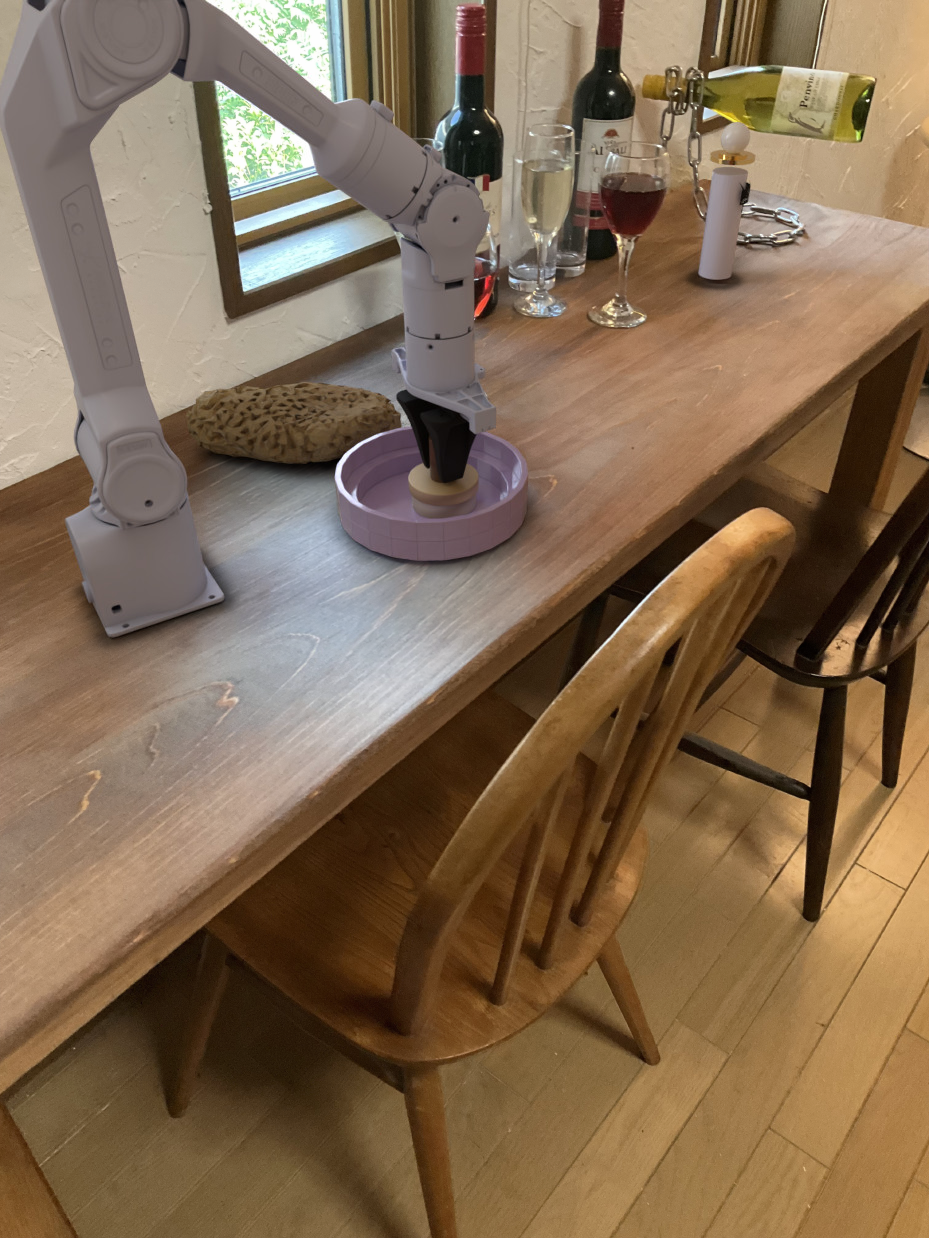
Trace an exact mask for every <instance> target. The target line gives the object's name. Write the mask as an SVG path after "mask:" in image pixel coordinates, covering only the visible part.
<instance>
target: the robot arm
mask: <svg viewBox="0 0 929 1238" xmlns="http://www.w3.org/2000/svg"><path fill="white" fill-rule="evenodd" d="M19 17H20V18H19V21H18V24H17V28H16V31H15V34H14V38H13V42H12V45H11V49H10V52H9V55H8V58H7V62H6V63H5V64H6V65H5V68H4V71H3V75H2V78H1V81H0V131H1V134H2V139H3V141H4V145H5V149H6V152H7V156H8V159H9V162H10V166H11V169H12V173H13V176H14V179H15V183H16V186H17V187H16V188H17V190H18V193H19V197H20V200H21V204H22V208H23V210H24V211H23V212H24V215H25V218H26V223H28V224H27V225H28V229H29V232H30V235H31V239H32V242H33V245H34V249H35V252H36V256H37V259H38V263H39V266H40V267H39V268H40V270H41V273H42V277H43V280H44V283H45V288H46V290H47V294H48V298H49V301H50V305H51V309H52V312H53V315H54V319H55V322H56V325H57V329H58V333H59V336H60V340H61V343H62V347H63V349H64V350H63V351H64V353H65V357H66V359H67V363H68V367H69V371H70V373H71V378H72V380H73V396H74V400H75V402H76V409H77V418H76V421H75V424H74V425H75V426H74V430H73V442H74V446H75V449H76V452H77V454H78V455H79V457H80V458H81V460H82V461H83V463H84V464H85V467H86V469H87V471H88V473H89V475H90V477H91V479H92V481H93V487H92V490H91V495H90V496H89V500H88V501H89V505H88V506H86V507H85V508H84V509H82V510H80V511H78V512H76V513H74V514H71V515H70V516H67V517H65V518H64V523H65V527H66V531H67V534H68V535H69V536H68V537H69V539H70V542H71V546H72V549H73V553H74V555H75V558H76V561H77V564H78V567H79V570H80V573H81V576H82V579H83V580H82V581H81V586H82V589H83V592H84V594H85V597H86V599H87V601H88V603H89V604H92V605H93V607H94V609H95V612H96V613H97V616H98V618H99V620H100V623H101V624H102V626H103V628H104V630H105V633H106V634H107V636H108V637H109V638H116V637H120V636H123V635H126V634H129V633H131V632H134V631H138V630H141V629H144V628H146V627H149V626H153V625H156V624H159V623H162V622H165V621H167V620H170V619H173V618H177V617H180V616H182V615H186V614H188V613H192V612H194V611H197V610H200V609H203V608H207V607H209V606H212V605H215V604H219V603H221V602H223V601H224V600H225V593H224V592H223V591H222V589H221V587H220V585H219V584H218V583H217V581H216V580H215V578H214V577H213V575H212V574H211V572H210V571H209V569H208V567H207V566H206V565H205V563H204V560H203V559H204V558H203V555H202V551H201V546H200V541H199V537H198V533H197V529H196V524H195V518H194V515H193V510H192V506H191V502H190V497H189V493H188V475H187V471H186V468H185V466H184V464H183V462H182V461H181V460H180V458H179V457H178V456H177V455H176V454H175V453H174V451H173V450H172V449H171V448H170V446H169V444H168V443H167V441H166V439H165V436H164V431H163V427H162V424H161V421H160V419H159V416H158V413H157V411H156V408H155V406H154V403H153V401H152V398H151V395H150V393H149V389H148V387H147V383H146V378H145V374H144V370H143V365H142V361H141V358H140V354H139V349H138V345H137V340H136V336H135V332H134V328H133V324H132V319H131V315H130V311H129V307H128V304H127V299H126V296H125V295H126V294H125V290H124V287H123V282H122V277H121V274H120V269H119V265H118V260H117V256H116V252H115V248H114V245H113V240H112V236H111V232H110V227H109V223H108V218H107V215H106V210H105V207H104V202H103V198H102V193H101V190H100V184H99V181H98V176H97V172H96V169H95V164H94V159H93V156H92V152H91V144H92V143H93V141H94V140H95V138H96V137H97V136H98V135H99V133H100V131H101V130H103V128H104V126H105V125H106V124H107V123H108V122H109V120H110V119H111V118H112V116H113V115H114V114H115V113H116V111H117V110H118V108H119V107H120V105H122V104H124V103H125V102H128V101H129V100H131V99H132V98H134V97H136V96H138V95H139V94H141V93H143V92H145V91H147V90H149V89H150V88H152V87H153V86H155V85H156V84H158V83H159V82H160V81H162V80H163V79H164V78H166V77H167V76H168V75H169V74H170V75H171V74H172V75H173V76H174V77H177V78H178V79H180V80H181V81H183V82H191V83H192V82H212V81H214V82H217V83H219V84H220V85H221V86H223V87H225V89H227V90H229V91H230V92H232V93H234V94H235V95H237V96H238V97H239V98H240V99H242V100H243V101H245V102H247V103H248V104H250V105H251V106H253V107H254V108H256V109H257V110H259V111H260V112H261V113H263V114H264V115H266V116H268V117H269V118H270V119H272V120H273V121H275V122H277V123H278V124H279V125H281V126H282V127H284V128H285V129H287V130H288V131H289V132H291V133H293V134H294V135H296V137H299V138H300V139H301V140H303V141H304V142H306V143H307V144H308V146H309V150H310V153H311V154H310V155H311V159H312V162H313V166H314V169H315V172H316V174H317V176H319V177H320V178H322V179H323V180H325V181H326V182H328V183H329V184H330V185H332V186H333V187H335V188H336V189H338V190H339V191H340V192H341V193H343V194H345V195H346V196H347V197H349V198H350V199H352V200H353V201H355V202H356V203H357V204H359V205H360V206H362V207H364V208H365V209H366V210H367V211H369V212H371V213H372V214H373V215H375V216H376V217H378V218H379V219H381V220H382V221H384V222H385V223H387V224H388V226H389V227H390V229H391V230H392V232H394V233H400V234H401V235H402V236H401V237H400V238H399V240H400V241H399V243H400V262H401V264H400V265H401V283H402V285H401V287H402V304H403V321H404V322H403V323H404V325H403V327H404V328H403V329H404V343H405V345H404V346H400V347H397V348H393V349H391V360H392V361H391V364H392V371H394V372H395V373H396V374H401V377H402V381H403V384H404V388H405V389H402V390H400V391H398V392H397V393H396V395H395V396H396V397H395V399H396V401H397V402H398V404H399V406H400V407H401V408H402V411H403V412H404V414H405V415H406V418H407V420H408V422H409V424H410V426H411V427H412V429H413V432H414V435H415V438H416V441H417V445H418V448H419V452H420V455H421V458H422V461H423V464H424V466H425V467H426V468H427V469H429V468H430V458H429V435H430V437H431V440H432V444H433V448H434V453H435V460H436V467H437V472H438V475H439V478H440V480H441V481H442V482H443V483H448V482H451V481H454V480H457V479H461V478H463V475H464V472H465V468H466V465H467V461H468V457H469V453H470V450H471V447H472V444H473V442H474V440H475V437H476V435H477V434H478V433H481V432H489V431H492V430H495V429H496V428H497V407H496V406H495V405H494V404H493V403H492V402H491V401H490V400H489V398H488V396H487V394H486V392H485V389H484V387H483V385H482V382H481V381H480V380H483V379H484V378H486V376H487V375H486V372H487V371H486V368H484V367H483V366H482V365H480V364H479V363H477V362H475V361H476V360H475V358H476V355H475V354H476V353H475V269H476V253H477V250H478V247H479V245H480V244H481V243H482V241H483V239H484V238H485V235H486V232H487V229H488V227H489V221H490V211H486V209H484V201H483V198H481V197H480V195H481V193H480V191H479V189H478V188H477V186H476V185H475V184H474V183H473V182H472V181H471V180H470V179H467V178H466V177H464V176H462V175H460V174H458V173H456V172H453V171H452V170H449V169H447V168H445V167H443V166H442V165H441V163H440V160H441V159H442V153H441V152H440V151H439V150H437V149H436V148H435V147H434V146H432V145H429V144H428V143H426V144H425V145H423V146H421V145H420V144H419V143H418V142H416V141H415V140H414V139H413V138H412V137H410V136H409V135H408V134H407V133H405V132H404V131H403V130H402V129H400V128H399V127H398V126H397V125H395V124H394V123H393V122H392V120H393V118H394V116H395V112H394V111H393V110H391V108H389V107H388V106H386V105H385V104H384V103H382V102H380V101H378V100H376V99H373V100H371V102H370V104H369V103H368V102H366V101H365V100H364V99H362V98H357V97H355V98H349V99H345V100H342V101H337V102H336V101H335V102H334V101H333V100H331V99H330V98H329V97H328V96H327V95H325V94H324V93H323V92H321V90H320V89H318V88H317V87H316V86H314V85H313V84H312V83H311V82H309V81H308V80H307V79H306V78H305V77H304V76H302V75H301V74H300V73H298V72H297V70H296V69H294V68H293V67H291V66H290V65H289V64H288V63H287V62H286V61H284V60H283V59H282V58H281V57H279V56H278V55H277V54H275V52H273V51H272V50H271V49H270V48H269V47H267V46H266V45H265V44H264V43H262V42H261V40H259V39H258V38H256V37H255V36H254V34H251V32H249V31H248V30H247V29H246V28H244V27H243V26H242V25H241V24H240V23H239V22H237V21H236V20H235V19H233V18H232V17H231V16H230V15H229V14H228V13H226V12H225V11H223V10H222V9H221V8H219V7H217V6H215V5H213V4H212V3H210V2H209V1H207V0H22V4H21V11H20V16H19Z"/></svg>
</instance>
